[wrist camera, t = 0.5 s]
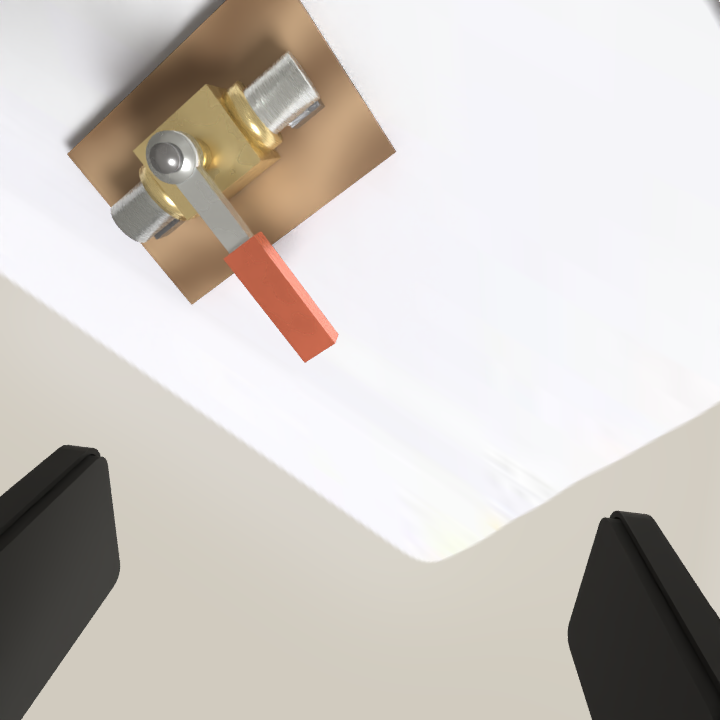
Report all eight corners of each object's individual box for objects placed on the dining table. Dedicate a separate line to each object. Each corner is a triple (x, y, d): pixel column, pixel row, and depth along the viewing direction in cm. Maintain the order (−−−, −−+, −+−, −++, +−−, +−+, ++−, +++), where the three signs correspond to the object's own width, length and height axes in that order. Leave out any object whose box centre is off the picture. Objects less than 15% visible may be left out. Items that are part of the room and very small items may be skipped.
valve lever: (148, 150, 31) (128, 151, 28) (182, 120, 30) (164, 118, 28) (307, 354, 35) (300, 368, 33) (340, 332, 34) (335, 345, 32)
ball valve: (126, 188, 39) (62, 200, 32) (289, 43, 35) (256, 19, 28) (172, 245, 41) (121, 268, 34) (335, 114, 36) (315, 108, 29)
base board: (79, 153, 40) (67, 154, 39) (276, -36, 34) (271, -44, 33) (198, 299, 44) (191, 304, 43) (396, 151, 38) (395, 152, 37)
